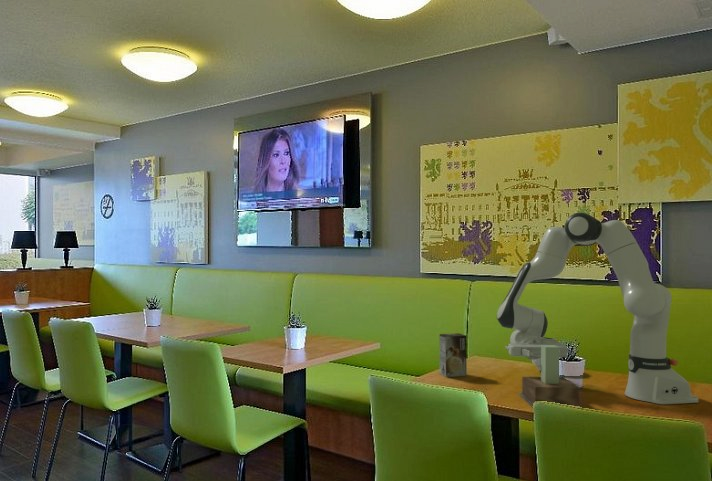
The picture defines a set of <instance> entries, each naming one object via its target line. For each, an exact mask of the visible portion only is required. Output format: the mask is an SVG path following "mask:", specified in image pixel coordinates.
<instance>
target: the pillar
mask: <svg viewBox="0 0 712 481" xmlns="http://www.w3.org/2000/svg"><path fill="white" fill-rule="evenodd" d="M540 377H541V381H543V382H544V383H545V384H559V347H558V346H556V345H541V371H540Z"/></svg>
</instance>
